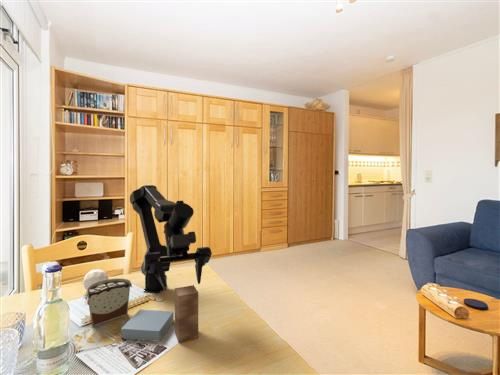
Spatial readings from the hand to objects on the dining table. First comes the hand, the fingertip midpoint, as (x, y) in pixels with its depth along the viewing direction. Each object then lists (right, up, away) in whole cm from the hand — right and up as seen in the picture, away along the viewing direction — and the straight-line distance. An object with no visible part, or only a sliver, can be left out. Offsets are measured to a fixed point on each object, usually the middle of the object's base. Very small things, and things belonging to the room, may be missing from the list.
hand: (182, 286), depth 76 cm
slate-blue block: (-9, -12, -1) cm, 15 cm away
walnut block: (+2, -12, -4) cm, 12 cm away
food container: (-24, -11, +6) cm, 27 cm away
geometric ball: (-36, -10, +23) cm, 44 cm away
